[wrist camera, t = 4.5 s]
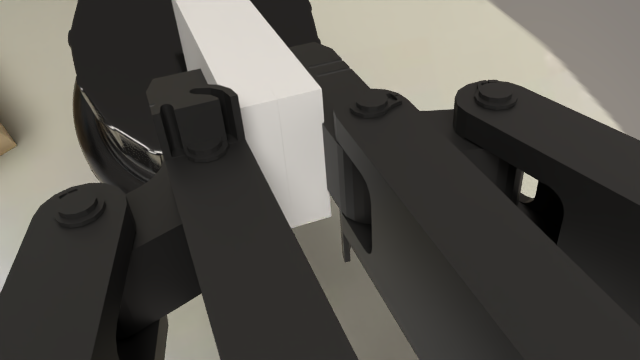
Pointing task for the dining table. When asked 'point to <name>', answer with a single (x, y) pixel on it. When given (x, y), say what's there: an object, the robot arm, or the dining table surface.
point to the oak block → (5, 141)
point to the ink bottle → (140, 77)
